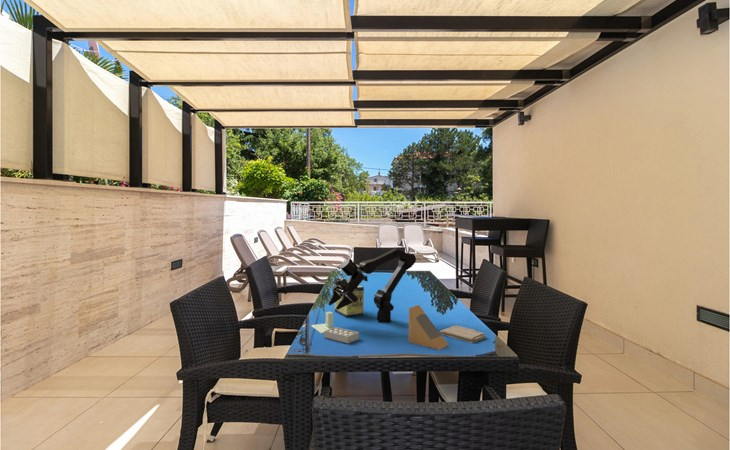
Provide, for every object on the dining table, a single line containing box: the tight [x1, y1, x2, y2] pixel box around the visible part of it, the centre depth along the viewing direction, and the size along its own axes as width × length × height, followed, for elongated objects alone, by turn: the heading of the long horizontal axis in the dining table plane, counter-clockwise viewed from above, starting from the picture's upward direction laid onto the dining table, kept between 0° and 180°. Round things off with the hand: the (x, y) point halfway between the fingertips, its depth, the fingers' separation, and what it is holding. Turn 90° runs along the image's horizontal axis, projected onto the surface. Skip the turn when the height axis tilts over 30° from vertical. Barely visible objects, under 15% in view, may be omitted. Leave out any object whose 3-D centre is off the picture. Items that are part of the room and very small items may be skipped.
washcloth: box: [439, 325, 487, 344], centre depth 176 cm, size 12×18×3 cm, turn 45°
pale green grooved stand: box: [311, 311, 334, 335], centre depth 183 cm, size 8×13×8 cm, turn 28°
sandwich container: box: [408, 304, 450, 351], centre depth 164 cm, size 9×15×15 cm, turn 52°
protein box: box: [334, 284, 365, 319], centre depth 213 cm, size 10×16×16 cm
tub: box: [323, 326, 360, 345], centre depth 169 cm, size 8×13×3 cm, turn 55°
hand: (332, 306), depth 185 cm, fingers open, 9 cm apart
